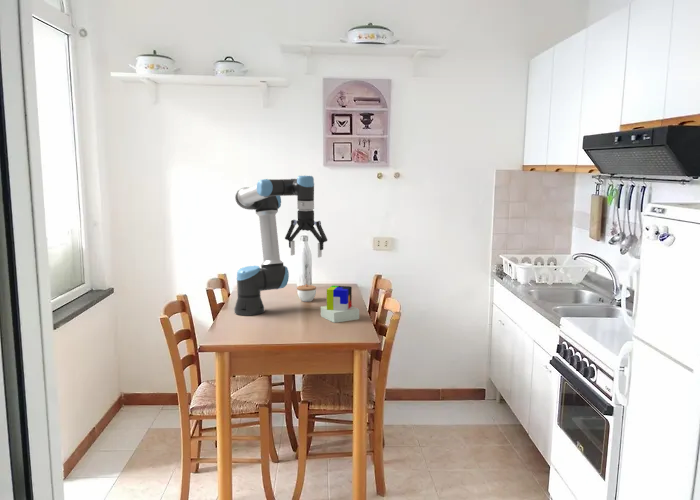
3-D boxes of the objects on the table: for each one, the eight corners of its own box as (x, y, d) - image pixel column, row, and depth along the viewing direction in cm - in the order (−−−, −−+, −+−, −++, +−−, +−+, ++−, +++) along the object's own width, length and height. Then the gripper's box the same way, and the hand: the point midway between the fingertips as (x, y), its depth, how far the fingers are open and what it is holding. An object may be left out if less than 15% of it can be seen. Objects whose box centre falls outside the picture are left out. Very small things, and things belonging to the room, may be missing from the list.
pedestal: (320, 316, 275) (320, 306, 275) (345, 312, 282) (345, 303, 282) (334, 322, 263) (334, 312, 263) (359, 319, 270) (359, 309, 270)
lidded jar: (313, 297, 317) (313, 281, 315) (318, 301, 307) (318, 285, 305) (295, 299, 313) (295, 282, 312) (299, 303, 303) (299, 286, 302)
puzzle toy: (346, 310, 266) (346, 290, 265) (326, 309, 269) (326, 289, 267) (351, 306, 276) (351, 286, 274) (332, 304, 278) (332, 285, 277)
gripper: (277, 209, 250) (278, 255, 254) (328, 211, 242) (328, 259, 246) (284, 208, 257) (285, 252, 261) (334, 210, 249) (334, 256, 253)
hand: (306, 256), depth 253 cm, fingers open, 13 cm apart
